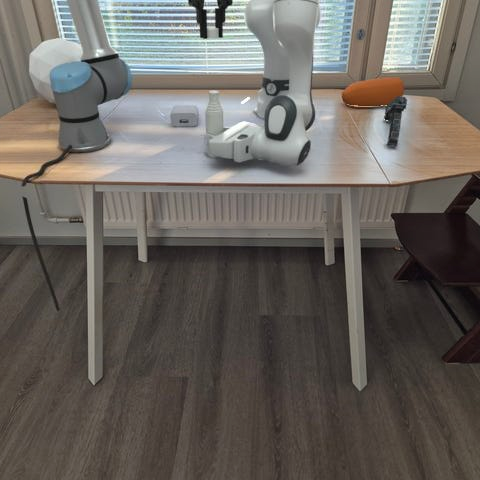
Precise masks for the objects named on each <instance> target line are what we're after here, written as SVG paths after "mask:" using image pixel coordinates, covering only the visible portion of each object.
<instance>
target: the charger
mask: <svg viewBox="0 0 480 480" xmlns="http://www.w3.org/2000/svg"><path fill="white" fill-rule="evenodd" d="M169 116H170V125H171V126H172V127H196V126H198V122H199V107H198V106H197V105H173V106H172V109H171V112H170V115H169Z"/></svg>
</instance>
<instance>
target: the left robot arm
mask: <svg viewBox="0 0 480 480" xmlns="http://www.w3.org/2000/svg"><path fill="white" fill-rule="evenodd" d="M233 1H234V0H216V5H217V7H214V28H219V38H218V39H223V38H224V30H223V29H224V26H223V25H224V23H226V10H227V9H228V8H229V7H230V6H232V5H233V3H234V2H233ZM66 3H67V6H68V9H69V12H70V15H71V19H72V21H73V24H74V28H75V30H76V35H77V37H78V40H79V44H80V47H81V48H82V50H83V55H82V57H81V59H80V60H81V62H80V61H78V62H70V63H64V64H61V65H58V66H56V67H54V68H53V69H52V70H51V72H50V81H51V89H52V91H53V95H54V98H55V103H56V104H55V107H56V111H57V114H58V118H59V132H58V133H59V134H58V145H59V148H60V149H61V150H62V153H61V154H60V155H59V156H58V157H57V158H55V159H52V160H48V161H46V162H44V163H43V164H42V165H41V166H40V169H39V170H38V171H37V172H35V173H30V174H28V175H26V176H25V178H24V179H23V180H22V181H21V187H23V188H24V187H25V186H27V183H28V182H29V180H31V179H32V178H35V177H39V176H40V175H42V174H43V173H44V171H45V168H46V167H48V166H50V165H53V164H57V163H58V162H61V160H63V159H64V158H65V157H66V155H67V153H74V154H76V153H77V154H81V153H82V154H83V153H90V152H96V151H99V150H102V149H104V148H106V147H107V146H108V145H109V144H110V143H111V140H110V139H111V138H110V137H111V136H110V133H109V132H108V130H107V129H106V127H105V125H104V123H103V121H102V120H101V116H100V112H99V107H98V106H100V105H102V104H105V103H108V102H111V101H113V100H118V99H121V98H122V97H124V96H126V95H127V94H128V93H129V92H130V90H131V88H132V85H133V74H132V70H131V68H130V66H129V64H128V63H126V61H125V60H124V59H122V58H121V57H120V55H119V52H118V51H117V50H116V49H114V48H113V47H112V44H111V42H110V38H109V35H108V31H107V28H106V24H105V21H104V17H103V14H102V10H101V7H100V4H99V0H66ZM187 4H188V6H190V7H191V8H192V7H193V8H194V9H195V16H196V19H195V20H196V24H198V25H199V38H201V39H203V40H208V38H207V28H208V11H207V10H208V9H205V0H187ZM21 197H22V201H23V202H22V203H23V207H24V212H25V216H26V221H27V224H28V229H29V232H30V236H31V239H32V243H33V245H34V249H35V252H36V255H37V258H38V260H39V263H40V266H41V269H42V272H43V274H44V277H45V281H46V283H47V286H48V288H49V291H50V294H51V297H52V300H53V303H54V307H55V310H56V312H59V311H61V310H60V306H59V302H58V299H57V296H56V293H55V290H54V287H53V284H52V281H51V278H50V276H49V272H48V270H47V267H46V264H45V261H44V258H43V256H42V252H41V249H40V247H39V243H38V240H37V237H36V234H35V229H34V226H33V223H32V222H33V221H32V217H31V213H30V207H29V203H28V198H27V197H26V196H21Z"/></svg>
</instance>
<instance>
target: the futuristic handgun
mask: <svg viewBox="0 0 480 480" xmlns="http://www.w3.org/2000/svg"><path fill="white" fill-rule="evenodd" d="M407 105H408V99H407V97H406V96H404V95H403V96H397V97H396V98H394V99H393V100H392V101H391V102H390V103H389V104H388V105H387V106H385V110H384V115H383V121H385V122H389V124H390V125H389V132H388V137H387V141H386V142H387V143H386V146H395V147H396V146H398V142H399V137H400V129H401V124H402V116H403V112H404V110H406V109H407ZM384 119H385V120H384ZM386 120H388V121H386Z"/></svg>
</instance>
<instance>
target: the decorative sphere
mask: <svg viewBox="0 0 480 480" xmlns="http://www.w3.org/2000/svg"><path fill="white" fill-rule="evenodd" d="M82 55H83V50H82V47H81V44H80V43H78V42H76V41H71V40H68V39H64V38H60V37H57V38H52V39H47V40H44V41H42V42H41V43H40V44H39V45H38V46H37V47H36V48H35V49H34V50H32V51H31V52H30V54H29V62H28V75H29V78H30V80H31V81H32V85H33V87H34V89H35V91H37V93H39V95H41V96H42V97H43V98H44V99H46V100H47V101H48V102H49V103H50V104H55V105H56V103H55V98H54V95H53V91H52V89H51V81H50V72H51V70H52V69H53V68H54V67H56V66H58V65H61V64H64V63H70V62H78V61H80V62H81V60H80V59H81V57H82Z"/></svg>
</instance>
